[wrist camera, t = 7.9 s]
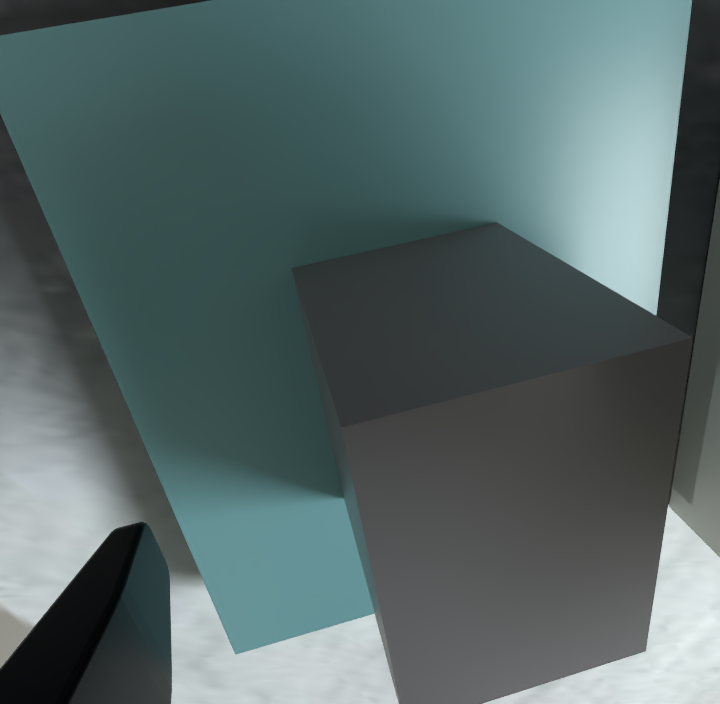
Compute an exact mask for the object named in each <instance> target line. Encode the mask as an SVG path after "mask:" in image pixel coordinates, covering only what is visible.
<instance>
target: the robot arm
mask: <svg viewBox="0 0 720 704" xmlns="http://www.w3.org/2000/svg"><path fill="white" fill-rule="evenodd" d="M171 693H172V660H171V616H170V577H169V570H168V566H167V563H166V560H165V558H164V556H163V554H162V552H161V550H160V547H159V545H158V543H157V541H156V539H155V537H154V535H153V533H152V530H151V529H150V527H149V526H148V525H147V524H146V523H144V522H138V523H135V524H131V525H127V526H123V527H119V528H117V529H115V530H113V531H112V532H111V533H110V534H109V536H108V537H107V538H106V539H105V540H104V542H103V543H102V544H101V545H100V547H99V548H98V549H97V550H96V552H95V553H94V554H93V555H92V556H91V558H90V559H89V560H88V561H87V563H86V564H85V565H84V566H83V568H82V569H81V570H80V571H79V572H78V574H77V575H76V576H75V577H74V579H73V580H72V581H71V582H70V584H69V585H68V586H67V587H66V588H65V590H64V591H63V592H62V593H61V595H60V596H59V597H58V598H57V599H56V601H55V602H54V603H53V604H52V606H51V607H50V608H49V609H48V611H47V612H46V613H45V614H44V615H43V617H42V618H41V619H40V620H39V622H38V623H37V624H36V625H35V627H34V628H33V629H32V630H31V631H30V633H29V634H28V635H27V637H26V638H25V639H24V640H23V641H22V643H21V644H20V645H19V646H18V647H17V649H16V650H15V651H14V652H13V654H12V655H11V656H10V657H9V659H8V660H7V661H6V662H5V664H4V665H3V666H2V667H1V668H0V704H171Z"/></svg>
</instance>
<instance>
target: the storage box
mask: <svg viewBox="0 0 720 704" xmlns="http://www.w3.org/2000/svg"><path fill="white" fill-rule="evenodd" d="M669 507H670V508H671V509H672V510H673V511H674V512H675V513H676V514H677V515H678V516H679V517H680V518H681V519H682V520H683V521H684V522H685V523H686V524H687V525H688V526H689V527H690V528H691V529H692V530H693V531H694V532H695V533H696V534H697V535H698V536H699V537H700V538H701V539H702V540H703V541H704V542H705V543H706V544H707V545H708V546H709V547H710V548H711V549H712V550H713V551H714V552H715V553H716V554H717V555H718V556H719V557H720V180H719V186H718V193H717V199H716V205H715V212H714V218H713V225H712V231H711V238H710V244H709V251H708V257H707V264H706V270H705V277H704V283H703V290H702V296H701V303H700V309H699V316H698V322H697V329H696V335H695V341H694V348H693V354H692V361H691V367H690V374H689V380H688V387H687V393H686V400H685V406H684V413H683V419H682V426H681V432H680V439H679V445H678V452H677V458H676V465H675V471H674V477H673V484H672V490H671V497H670V503H669Z"/></svg>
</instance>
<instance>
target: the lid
mask: <svg viewBox="0 0 720 704" xmlns="http://www.w3.org/2000/svg"><path fill="white" fill-rule="evenodd" d="M691 6H692V0H211V1H205V2H199V3H192V4H186V5H180V6H174V7H168V8H162V9H156V10H150V11H144V12H138V13H132V14H126V15H120V16H114V17H108V18H102V19H96V20H90V21H84V22H78V23H72V24H66V25H60V26H54V27H48V28H42V29H36V30H30V31H24V32H18V33H12V34H6V35H0V114H1V117H2V119H3V121H4V123H5V126H6V128H7V130H8V133H9V135H10V137H11V139H12V142H13V144H14V146H15V149H16V151H17V153H18V156H19V158H20V160H21V162H22V165H23V167H24V169H25V172H26V174H27V176H28V179H29V181H30V183H31V185H32V188H33V190H34V192H35V195H36V197H37V199H38V202H39V204H40V206H41V208H42V211H43V213H44V215H45V218H46V220H47V222H48V225H49V227H50V229H51V231H52V234H53V236H54V238H55V241H56V243H57V245H58V248H59V250H60V252H61V254H62V257H63V259H64V261H65V264H66V266H67V268H68V271H69V273H70V275H71V277H72V280H73V282H74V284H75V287H76V289H77V291H78V294H79V296H80V298H81V300H82V303H83V305H84V307H85V310H86V312H87V314H88V317H89V319H90V321H91V323H92V326H93V328H94V330H95V333H96V335H97V337H98V340H99V342H100V344H101V346H102V349H103V351H104V353H105V356H106V358H107V360H108V363H109V365H110V367H111V369H112V372H113V374H114V376H115V379H116V381H117V383H118V386H119V388H120V390H121V392H122V395H123V397H124V399H125V402H126V404H127V406H128V409H129V411H130V413H131V415H132V418H133V420H134V422H135V425H136V427H137V429H138V432H139V434H140V436H141V438H142V441H143V443H144V445H145V448H146V450H147V452H148V454H149V457H150V459H151V461H152V464H153V466H154V468H155V471H156V473H157V475H158V477H159V480H160V482H161V484H162V487H163V489H164V491H165V494H166V496H167V498H168V500H169V503H170V505H171V507H172V510H173V512H174V514H175V517H176V519H177V521H178V523H179V526H180V528H181V530H182V533H183V535H184V537H185V540H186V542H187V544H188V546H189V549H190V551H191V553H192V556H193V558H194V560H195V563H196V565H197V567H198V569H199V572H200V574H201V576H202V579H203V581H204V583H205V586H206V588H207V590H208V592H209V595H210V597H211V599H212V602H213V604H214V606H215V609H216V611H217V613H218V615H219V618H220V620H221V622H222V625H223V627H224V629H225V632H226V634H227V636H228V638H229V641H230V643H231V645H232V648H233V650H234V652H235V654H239V653H242V652H246V651H249V650H252V649H256V648H259V647H262V646H266V645H269V644H273V643H276V642H279V641H283V640H286V639H290V638H293V637H296V636H300V635H303V634H306V633H310V632H313V631H317V630H320V629H323V628H327V627H330V626H334V625H337V624H340V623H344V622H347V621H351V620H354V619H357V618H361V617H364V616H367V615H371V614H374V613H375V616H376V620H377V624H378V627H379V631H380V635H381V639H382V642H383V646H384V650H385V654H386V657H387V661H388V665H389V668H390V672H391V676H392V680H393V683H394V687H395V691H396V695H397V698H398V702H399V704H482V703H485V702H488V701H491V700H495V699H498V698H501V697H504V696H507V695H510V694H513V693H516V692H520V691H523V690H526V689H529V688H532V687H535V686H538V685H541V684H545V683H548V682H551V681H554V680H557V679H560V678H563V677H566V676H570V675H573V674H576V673H579V672H582V671H585V670H588V669H591V668H594V667H598V666H601V665H604V664H607V663H610V662H613V661H616V660H619V659H623V658H626V657H629V656H632V655H635V654H638V653H641V652H644V651H646V645H647V638H648V632H649V625H650V619H651V612H652V606H653V599H654V592H655V586H656V579H657V573H658V566H659V560H660V553H661V546H662V540H663V533H664V527H665V520H666V514H667V507H668V501H669V494H670V487H671V481H672V474H673V468H674V461H675V455H676V448H677V441H678V435H679V428H680V422H681V415H682V409H683V402H684V396H685V389H686V382H687V376H688V369H689V363H690V356H691V350H692V343H693V337H691V336H690V335H688V334H686V333H685V332H683V331H681V330H679V329H678V328H676V327H674V326H673V325H671V324H669V323H668V322H666V321H664V320H662V319H661V318H659V317H657V316H656V314H657V306H658V297H659V288H660V279H661V270H662V262H663V253H664V244H665V235H666V226H667V218H668V209H669V200H670V191H671V182H672V173H673V165H674V156H675V147H676V138H677V129H678V121H679V112H680V103H681V94H682V85H683V76H684V68H685V59H686V50H687V41H688V32H689V24H690V15H691Z"/></svg>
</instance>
